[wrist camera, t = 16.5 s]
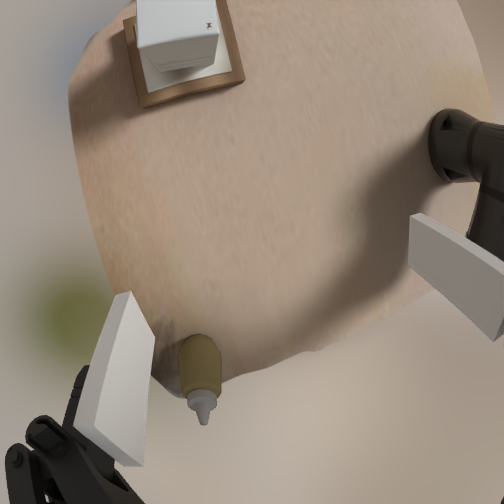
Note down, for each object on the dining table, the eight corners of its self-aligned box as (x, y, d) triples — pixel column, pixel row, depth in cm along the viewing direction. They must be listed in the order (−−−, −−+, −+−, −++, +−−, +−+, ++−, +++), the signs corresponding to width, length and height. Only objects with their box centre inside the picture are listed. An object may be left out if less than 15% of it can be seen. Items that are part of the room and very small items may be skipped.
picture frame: (222, 2, 28) (224, -7, 25) (242, 83, 34) (245, 79, 31) (127, 26, 27) (122, 19, 24) (144, 108, 34) (139, 106, 31)
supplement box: (210, 17, 27) (215, -26, 15) (214, 65, 30) (221, 35, 19) (154, 26, 26) (135, -14, 15) (157, 73, 29) (136, 49, 18)
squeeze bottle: (187, 362, 54) (188, 438, 38) (171, 334, 50) (167, 414, 34) (225, 353, 54) (236, 429, 38) (212, 324, 50) (221, 405, 34)
